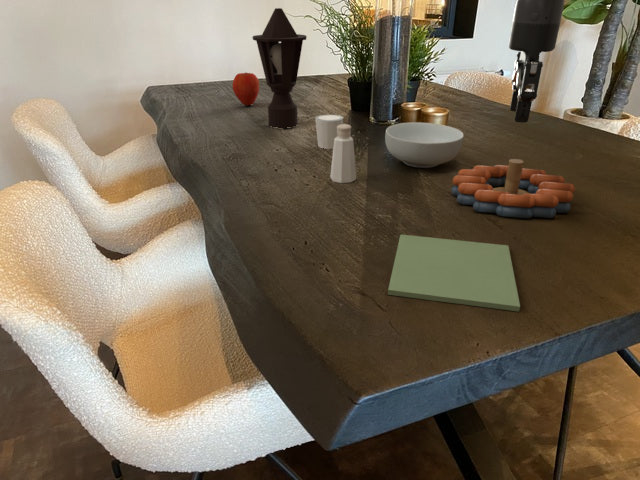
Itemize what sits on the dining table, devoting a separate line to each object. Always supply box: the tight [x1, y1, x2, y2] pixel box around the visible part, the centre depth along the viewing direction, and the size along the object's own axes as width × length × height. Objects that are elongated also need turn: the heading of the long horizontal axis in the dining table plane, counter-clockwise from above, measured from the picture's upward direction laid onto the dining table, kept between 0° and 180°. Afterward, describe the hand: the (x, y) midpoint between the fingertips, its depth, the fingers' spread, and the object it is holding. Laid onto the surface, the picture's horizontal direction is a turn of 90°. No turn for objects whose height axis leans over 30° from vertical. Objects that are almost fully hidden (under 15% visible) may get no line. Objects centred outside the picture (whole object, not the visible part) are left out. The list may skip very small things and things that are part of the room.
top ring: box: [452, 164, 576, 208], centre depth 88 cm, size 21×17×2 cm
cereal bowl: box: [384, 121, 465, 169], centre depth 107 cm, size 17×17×7 cm
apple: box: [232, 71, 260, 106], centre depth 158 cm, size 9×8×11 cm
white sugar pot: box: [314, 114, 344, 150], centre depth 119 cm, size 7×7×7 cm
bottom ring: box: [450, 176, 573, 219], centre depth 89 cm, size 21×17×2 cm
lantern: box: [252, 7, 307, 128], centre depth 131 cm, size 15×15×30 cm
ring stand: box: [493, 158, 530, 195], centre depth 88 cm, size 8×8×8 cm
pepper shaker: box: [329, 123, 357, 184], centre depth 98 cm, size 5×5×11 cm
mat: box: [387, 234, 521, 313], centre depth 68 cm, size 16×16×1 cm
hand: (518, 116), depth 90 cm, fingers open, 8 cm apart
